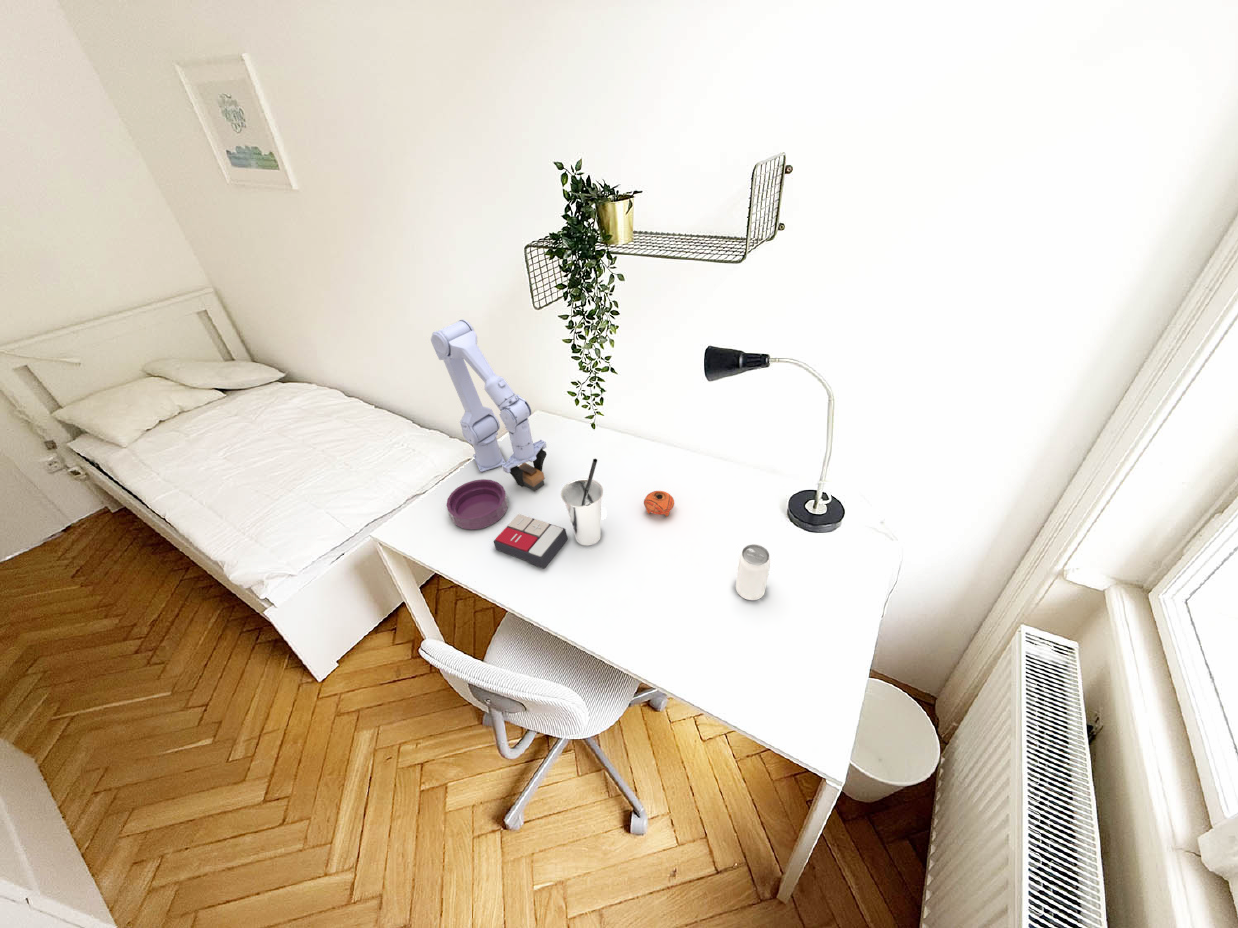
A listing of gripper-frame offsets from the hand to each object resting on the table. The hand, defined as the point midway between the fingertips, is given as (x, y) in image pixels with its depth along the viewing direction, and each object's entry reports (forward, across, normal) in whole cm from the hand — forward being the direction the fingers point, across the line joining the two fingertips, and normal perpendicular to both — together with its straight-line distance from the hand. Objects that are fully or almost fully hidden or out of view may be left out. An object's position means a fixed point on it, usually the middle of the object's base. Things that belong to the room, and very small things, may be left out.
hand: (529, 478), depth 151 cm
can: (+2, +4, -68) cm, 68 cm away
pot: (+2, +13, -37) cm, 39 cm away
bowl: (+2, -16, +3) cm, 17 cm away
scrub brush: (+2, 0, 0) cm, 2 cm away
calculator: (+2, -16, -18) cm, 24 cm away
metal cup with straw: (+2, -6, -28) cm, 29 cm away
